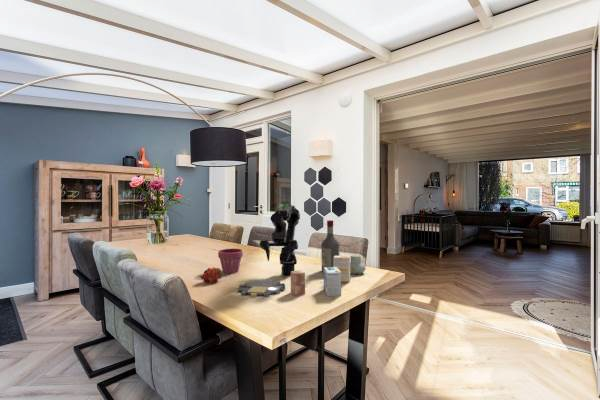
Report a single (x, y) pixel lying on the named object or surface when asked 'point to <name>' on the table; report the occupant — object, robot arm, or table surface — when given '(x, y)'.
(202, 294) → the table surface
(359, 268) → the air freshener
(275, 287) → the timing wheel
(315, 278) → the table surface
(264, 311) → the table surface
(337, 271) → the light bulb box
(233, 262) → the plant pot
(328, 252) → the liquor
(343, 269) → the supplement box
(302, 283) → the link block
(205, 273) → the dragon fruit
